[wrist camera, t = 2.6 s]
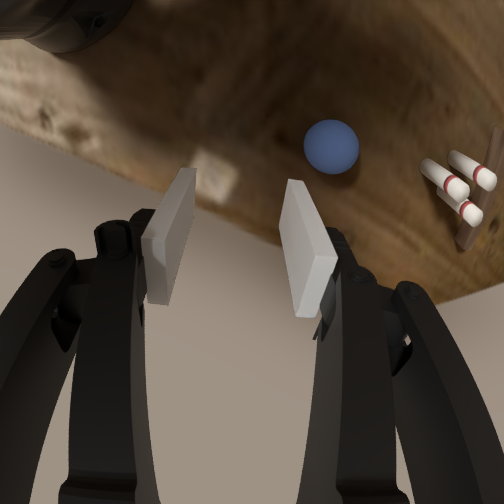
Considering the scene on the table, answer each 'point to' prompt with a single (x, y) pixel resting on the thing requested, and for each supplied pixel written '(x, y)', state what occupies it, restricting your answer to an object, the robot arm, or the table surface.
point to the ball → (331, 146)
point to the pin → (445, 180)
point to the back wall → (497, 161)
